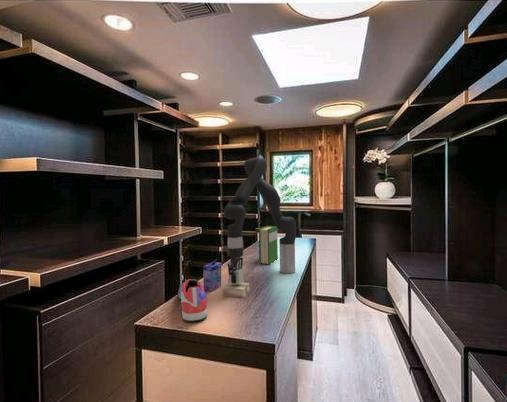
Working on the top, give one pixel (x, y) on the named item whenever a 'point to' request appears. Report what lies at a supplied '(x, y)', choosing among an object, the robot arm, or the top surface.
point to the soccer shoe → (193, 300)
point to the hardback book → (268, 245)
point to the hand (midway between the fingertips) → (236, 281)
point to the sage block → (237, 277)
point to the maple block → (236, 290)
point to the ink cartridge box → (212, 276)
